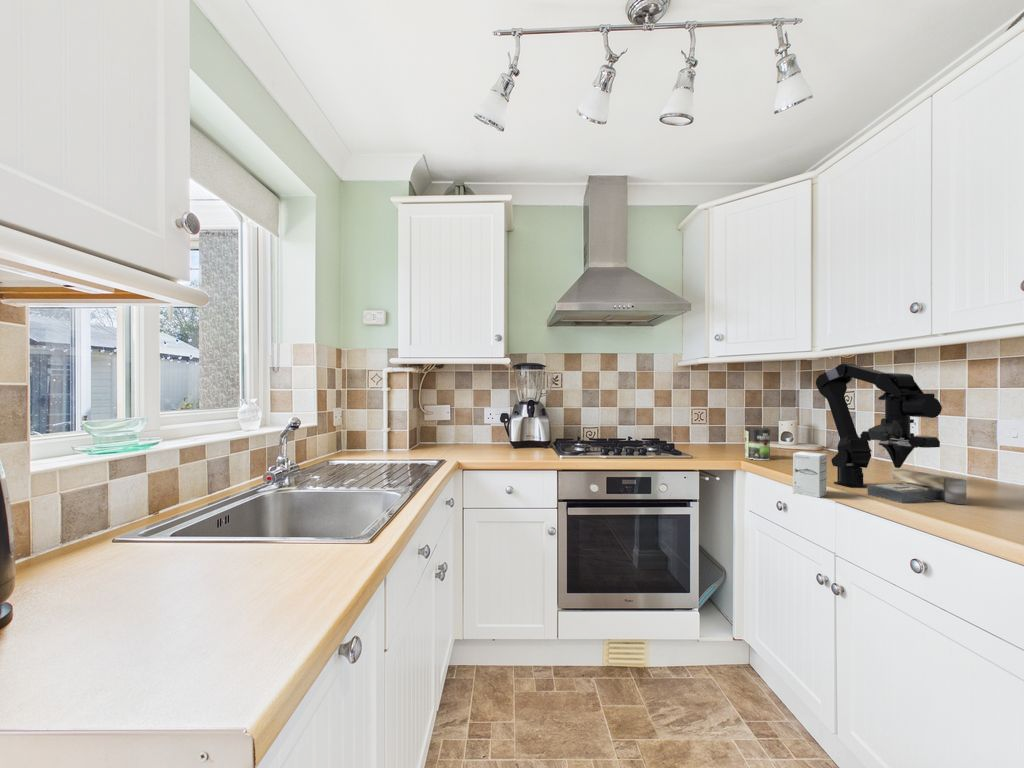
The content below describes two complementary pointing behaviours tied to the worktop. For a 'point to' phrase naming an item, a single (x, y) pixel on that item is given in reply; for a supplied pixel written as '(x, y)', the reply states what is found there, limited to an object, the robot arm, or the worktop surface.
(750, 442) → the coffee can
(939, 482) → the notched beige block
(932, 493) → the slab
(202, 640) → the worktop surface
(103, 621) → the worktop surface
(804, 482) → the supplement box
